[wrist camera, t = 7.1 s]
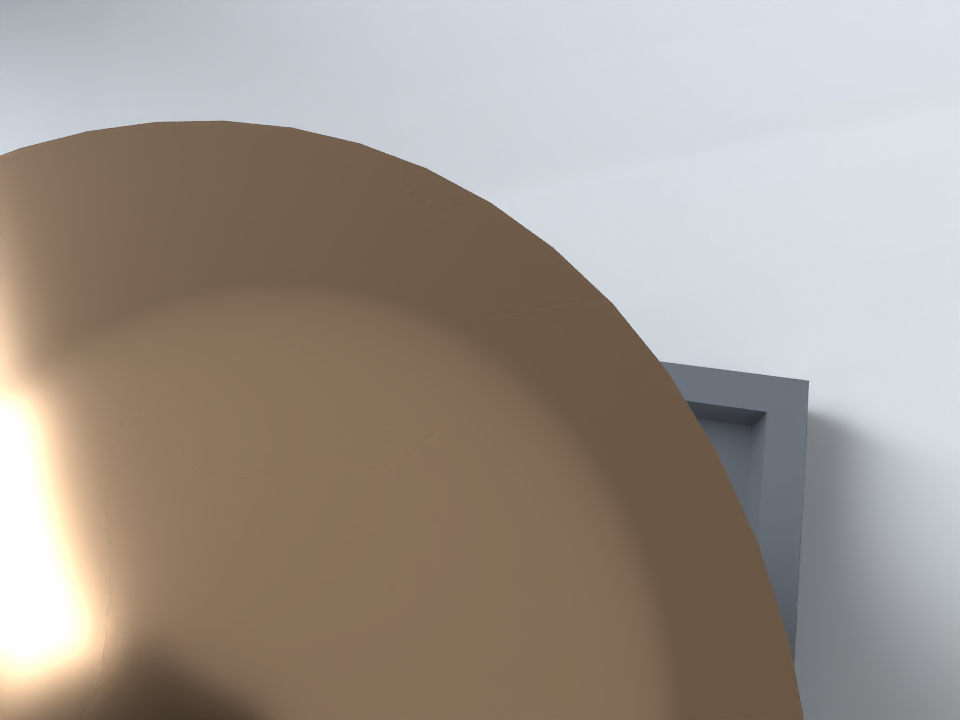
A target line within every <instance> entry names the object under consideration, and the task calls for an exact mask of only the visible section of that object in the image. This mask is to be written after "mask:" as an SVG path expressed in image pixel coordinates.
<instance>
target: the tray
mask: <svg viewBox="0 0 960 720" xmlns="http://www.w3.org/2000/svg"><path fill="white" fill-rule="evenodd" d="M660 363H661V364H662V365H663V366H664V368H665V369H666V370H667V371H668V373H669V375H670V376H671V378H672V380H673V381H674V383H675V384H676V386H677V388H678V389H679V391H680V393H681V394H682V396H683V397H684V399H685V401H686V402H687V404H688V405H689V407H690V409H691V410H692V412H693V414H694V415H695V417H696V418H697V420H698V422H699V423H700V425H701V427H702V428H703V430H704V431H705V433H706V435H707V436H708V438H709V439H710V441H711V443H712V444H713V446H714V448H715V449H716V451H717V453H718V455H719V458H720V460H721V462H722V464H723V466H724V469H725V471H726V473H727V475H728V477H729V480H730V482H731V484H732V486H733V488H734V491H735V493H736V495H737V497H738V499H739V502H740V504H741V506H742V508H743V511H744V513H745V515H746V517H747V519H748V522H749V524H750V526H751V528H752V530H753V533H754V535H755V537H756V539H757V541H758V544H759V548H760V551H761V554H762V557H763V560H764V564H765V567H766V570H767V573H768V576H769V580H770V583H771V586H772V589H773V592H774V596H775V599H776V602H777V605H778V609H779V612H780V615H781V618H782V621H783V625H784V628H785V631H786V634H787V637H788V641H789V644H790V648H791V654H792V659H793V665H794V654H795V635H796V616H797V598H798V579H799V560H800V541H801V522H802V503H803V484H804V466H805V447H806V428H807V409H808V390H809V381H807V380H799V379H791V378H783V377H776V376H768V375H760V374H752V373H745V372H737V371H729V370H721V369H714V368H706V367H698V366H690V365H682V364H675V363H667V362H660Z"/></svg>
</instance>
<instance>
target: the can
mask: <svg viewBox="0 0 960 720" xmlns="http://www.w3.org/2000/svg"><path fill="white" fill-rule="evenodd" d="M0 720H804V719H803V714H802V708H801V703H800V697H799V692H798V686H797V681H796V676H795V670H794V665H793V659H792V654H791V648H790V644H789V641H788V637H787V634H786V631H785V628H784V625H783V621H782V618H781V615H780V612H779V609H778V605H777V602H776V599H775V596H774V592H773V589H772V586H771V583H770V580H769V576H768V573H767V570H766V567H765V564H764V560H763V557H762V554H761V551H760V548H759V544H758V541H757V539H756V537H755V535H754V533H753V530H752V528H751V526H750V524H749V522H748V519H747V517H746V515H745V513H744V511H743V508H742V506H741V504H740V502H739V499H738V497H737V495H736V493H735V491H734V488H733V486H732V484H731V482H730V480H729V477H728V475H727V473H726V471H725V469H724V466H723V464H722V462H721V460H720V458H719V455H718V453H717V451H716V449H715V448H714V446H713V444H712V443H711V441H710V439H709V438H708V436H707V435H706V433H705V431H704V430H703V428H702V427H701V425H700V423H699V422H698V420H697V418H696V417H695V415H694V414H693V412H692V410H691V409H690V407H689V405H688V404H687V402H686V401H685V399H684V397H683V396H682V394H681V393H680V391H679V389H678V388H677V386H676V384H675V383H674V381H673V380H672V378H671V376H670V375H669V373H668V371H667V370H666V369H665V368H664V366H663V365H662V364H661V363H660V362H659V360H658V359H657V358H656V357H655V355H654V354H653V353H652V352H651V350H650V349H649V348H648V347H647V346H646V344H645V343H644V342H643V341H642V339H641V338H640V337H639V336H638V334H637V333H636V332H635V331H634V330H633V328H632V327H631V326H630V325H629V323H628V322H627V321H626V320H625V318H624V317H623V316H622V315H621V314H620V312H619V311H618V310H617V309H616V307H615V306H614V305H613V304H612V303H611V302H610V301H609V300H608V299H607V298H606V297H605V296H604V295H603V294H602V293H601V292H600V291H599V290H597V289H596V288H595V287H594V286H593V285H592V284H591V283H590V282H589V281H588V280H587V279H586V278H585V277H584V276H583V275H582V274H581V273H579V272H578V271H577V270H576V269H575V268H574V267H573V266H572V265H571V264H570V263H569V262H568V261H567V260H566V259H565V258H564V257H563V256H561V255H560V254H559V253H558V252H557V251H556V250H555V249H554V248H553V247H551V246H550V245H549V244H547V243H546V242H545V241H543V240H542V239H540V238H539V237H538V236H536V235H535V234H533V233H532V232H531V231H529V230H528V229H526V228H525V227H524V226H522V225H521V224H519V223H518V222H517V221H515V220H514V219H513V218H511V217H510V216H508V215H507V214H506V213H504V212H503V211H501V210H500V209H499V208H497V207H496V206H494V205H493V204H492V203H490V202H488V201H486V200H484V199H483V198H481V197H479V196H477V195H475V194H473V193H471V192H469V191H468V190H466V189H464V188H462V187H460V186H458V185H456V184H454V183H453V182H451V181H449V180H447V179H445V178H443V177H441V176H439V175H438V174H436V173H434V172H432V171H430V170H428V169H426V168H424V167H421V166H418V165H416V164H413V163H410V162H408V161H405V160H402V159H400V158H397V157H394V156H392V155H389V154H386V153H384V152H381V151H378V150H376V149H373V148H370V147H368V146H365V145H362V144H360V143H355V142H351V141H347V140H343V139H338V138H334V137H330V136H325V135H321V134H317V133H312V132H308V131H304V130H299V129H295V128H290V127H280V126H270V125H260V124H250V123H241V122H231V121H186V122H153V123H145V124H138V125H131V126H123V127H116V128H109V129H101V130H94V131H87V132H83V133H79V134H75V135H71V136H67V137H63V138H59V139H55V140H51V141H47V142H43V143H39V144H35V145H31V146H27V147H23V148H20V149H17V150H14V151H12V152H9V153H6V154H3V155H1V156H0Z"/></svg>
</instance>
